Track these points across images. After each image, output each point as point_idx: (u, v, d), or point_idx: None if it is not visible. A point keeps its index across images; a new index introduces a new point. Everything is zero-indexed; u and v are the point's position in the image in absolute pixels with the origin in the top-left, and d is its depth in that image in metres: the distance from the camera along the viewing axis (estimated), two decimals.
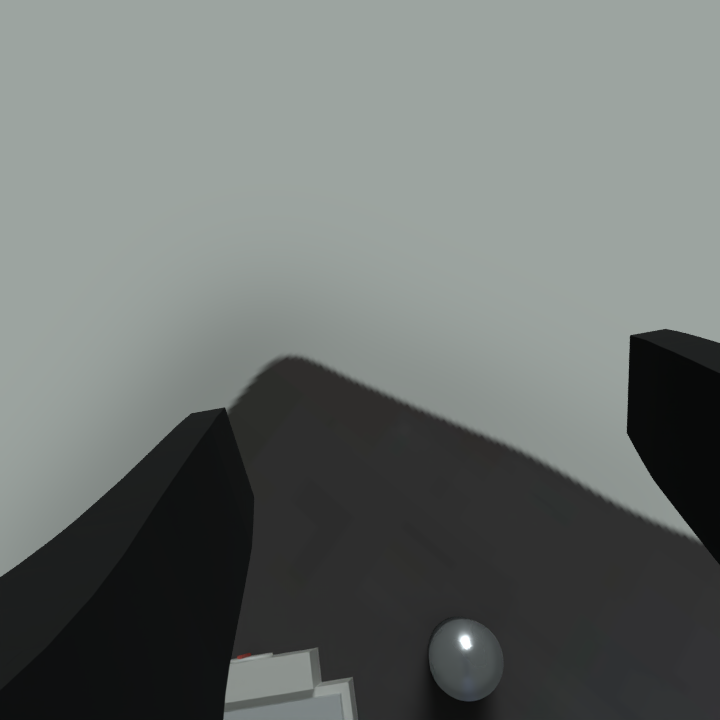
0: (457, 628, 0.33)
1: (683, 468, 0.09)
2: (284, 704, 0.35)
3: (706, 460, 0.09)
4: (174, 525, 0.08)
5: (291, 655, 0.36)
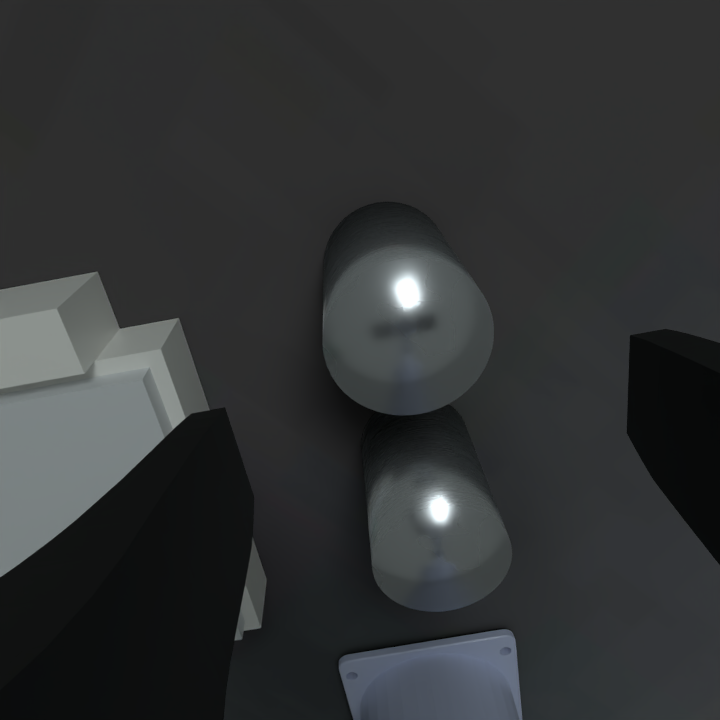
0: (392, 279, 0.13)
1: (683, 468, 0.09)
2: (32, 401, 0.17)
3: (706, 460, 0.09)
4: (174, 525, 0.08)
5: (18, 317, 0.16)
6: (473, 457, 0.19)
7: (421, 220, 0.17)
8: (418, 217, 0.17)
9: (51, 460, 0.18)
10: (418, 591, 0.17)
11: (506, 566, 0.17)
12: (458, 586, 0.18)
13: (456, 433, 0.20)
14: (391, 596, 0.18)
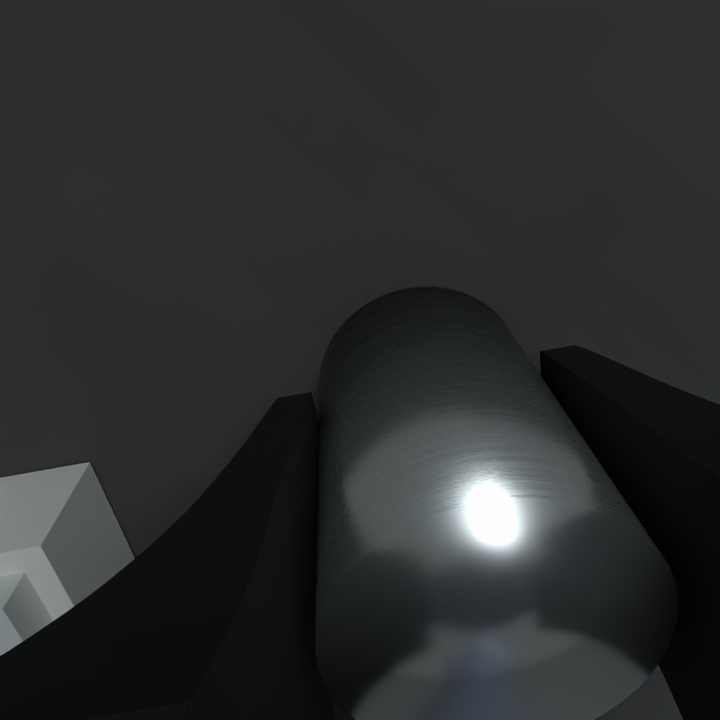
0: (470, 539, 0.06)
1: None
2: None
3: None
4: (291, 505, 0.08)
5: None
6: None
7: (491, 332, 0.10)
8: (485, 325, 0.10)
9: None
10: None
11: None
12: None
13: None
14: None
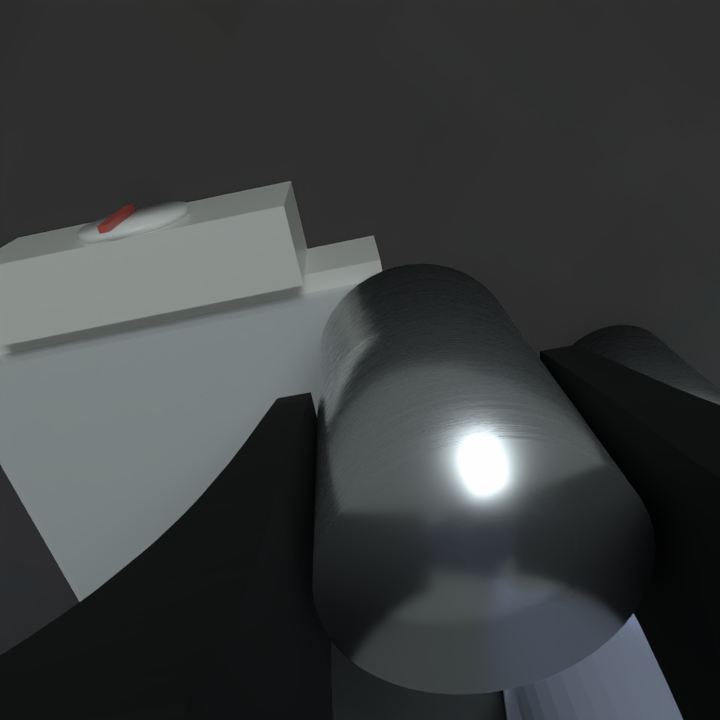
0: (467, 477, 0.06)
1: None
2: (239, 319, 0.15)
3: None
4: (290, 505, 0.08)
5: (238, 217, 0.14)
6: None
7: (489, 307, 0.10)
8: (482, 300, 0.10)
9: (251, 390, 0.16)
10: None
11: None
12: None
13: (684, 360, 0.18)
14: None
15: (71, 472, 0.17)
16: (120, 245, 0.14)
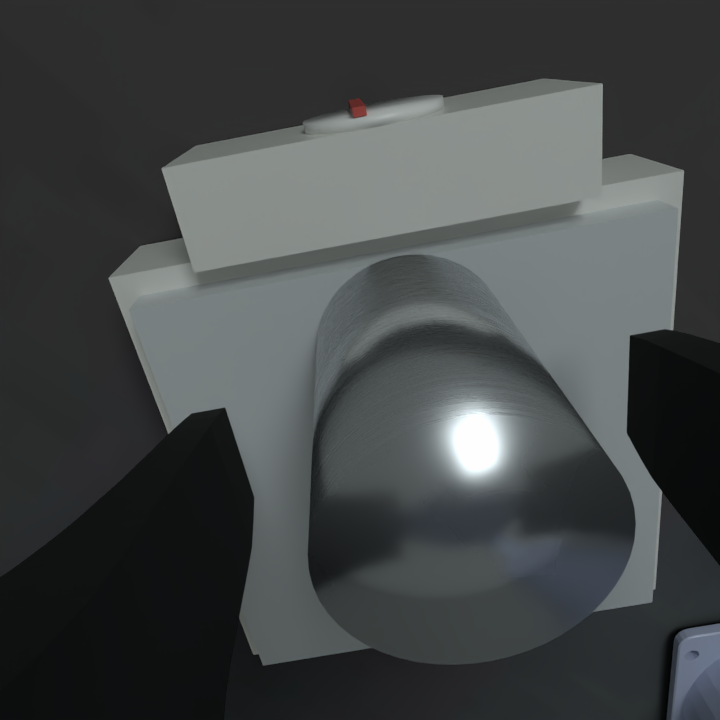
0: (458, 451, 0.07)
1: (683, 468, 0.09)
2: (510, 241, 0.12)
3: (706, 460, 0.09)
4: (174, 525, 0.08)
5: (540, 98, 0.11)
6: None
7: (484, 297, 0.10)
8: (478, 290, 0.11)
9: None
10: None
11: None
12: None
13: None
14: None
15: (259, 440, 0.14)
16: (379, 134, 0.11)
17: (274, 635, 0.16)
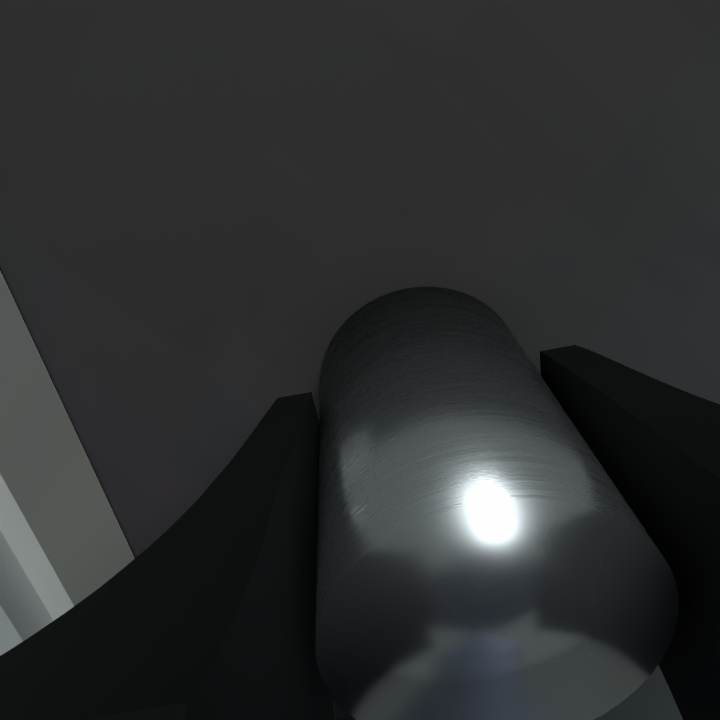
0: None
1: None
2: None
3: None
4: (291, 505, 0.08)
5: None
6: (551, 393, 0.09)
7: None
8: None
9: None
10: (434, 710, 0.07)
11: (657, 652, 0.07)
12: (533, 698, 0.07)
13: (509, 347, 0.09)
14: None
15: None
16: None
17: None
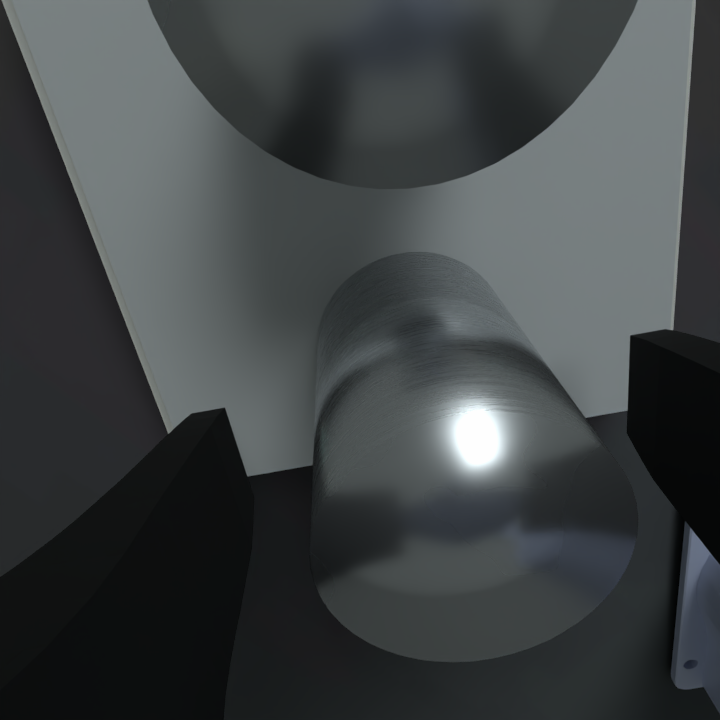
0: None
1: (683, 468, 0.09)
2: None
3: (706, 460, 0.09)
4: (174, 525, 0.08)
5: None
6: None
7: None
8: None
9: None
10: (412, 616, 0.08)
11: (616, 573, 0.08)
12: (502, 611, 0.08)
13: (500, 308, 0.10)
14: (350, 624, 0.08)
15: (169, 142, 0.11)
16: None
17: None
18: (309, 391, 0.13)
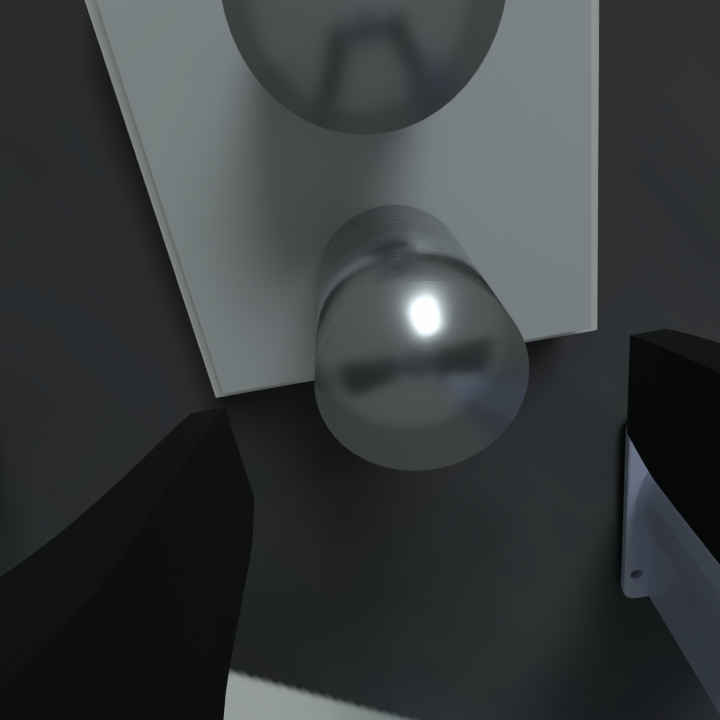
0: None
1: (683, 468, 0.09)
2: None
3: (706, 460, 0.09)
4: (174, 525, 0.08)
5: None
6: (475, 266, 0.13)
7: None
8: None
9: None
10: (382, 432, 0.12)
11: (518, 401, 0.11)
12: (443, 430, 0.12)
13: (452, 240, 0.14)
14: (341, 437, 0.12)
15: (210, 120, 0.14)
16: None
17: (232, 357, 0.17)
18: (313, 316, 0.17)
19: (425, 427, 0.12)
